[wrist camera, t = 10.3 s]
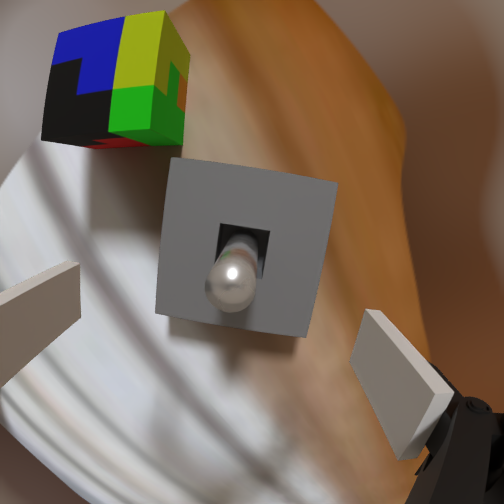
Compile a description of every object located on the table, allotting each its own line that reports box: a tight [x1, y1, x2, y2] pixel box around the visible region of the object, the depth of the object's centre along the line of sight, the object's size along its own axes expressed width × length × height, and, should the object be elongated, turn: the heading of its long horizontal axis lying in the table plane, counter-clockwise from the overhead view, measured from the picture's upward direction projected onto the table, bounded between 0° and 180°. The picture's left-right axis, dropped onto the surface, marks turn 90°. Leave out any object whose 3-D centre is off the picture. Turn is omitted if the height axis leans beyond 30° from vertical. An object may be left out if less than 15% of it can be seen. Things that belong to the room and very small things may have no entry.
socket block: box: [155, 157, 338, 338], centre depth 29 cm, size 14×14×5 cm
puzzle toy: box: [41, 10, 190, 149], centre depth 24 cm, size 10×10×10 cm
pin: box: [205, 230, 258, 312], centre depth 24 cm, size 3×3×13 cm
